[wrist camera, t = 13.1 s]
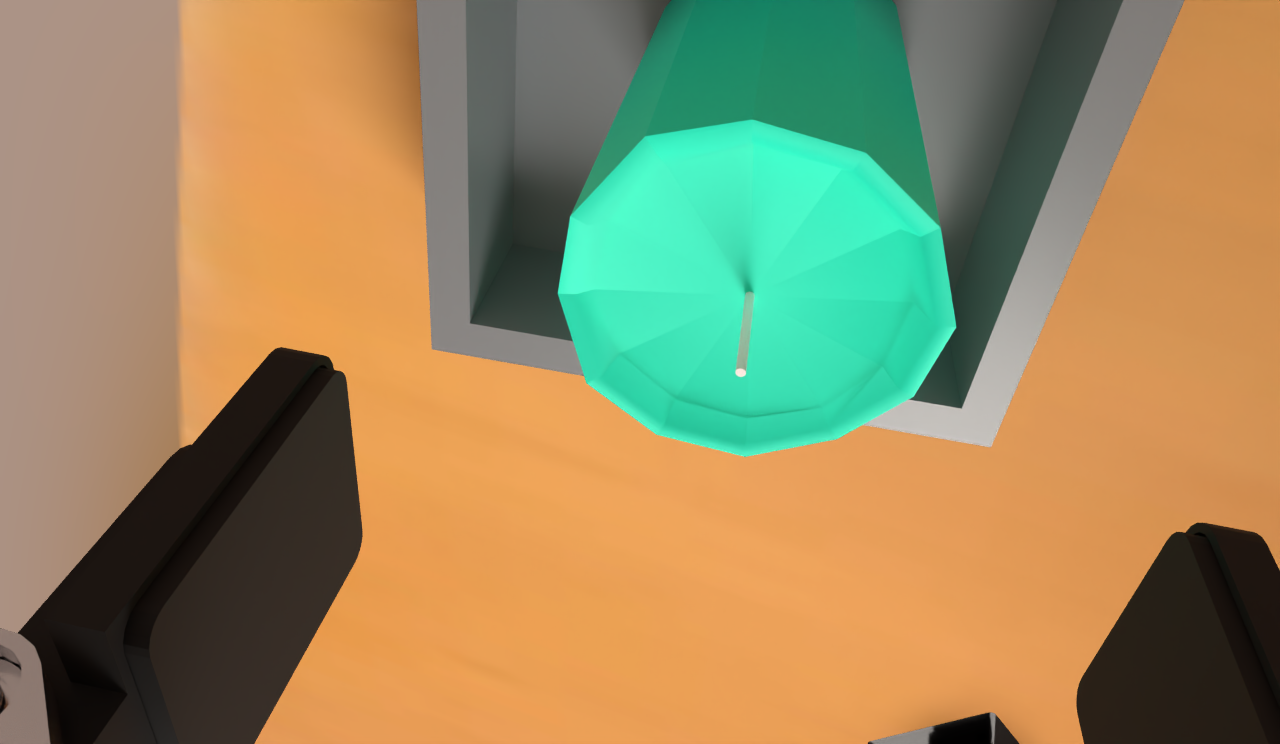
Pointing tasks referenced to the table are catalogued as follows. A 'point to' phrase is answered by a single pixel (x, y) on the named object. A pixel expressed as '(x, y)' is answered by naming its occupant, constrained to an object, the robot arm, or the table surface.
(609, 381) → the candle
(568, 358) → the bin
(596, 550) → the table surface
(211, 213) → the table surface
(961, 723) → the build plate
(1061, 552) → the table surface
